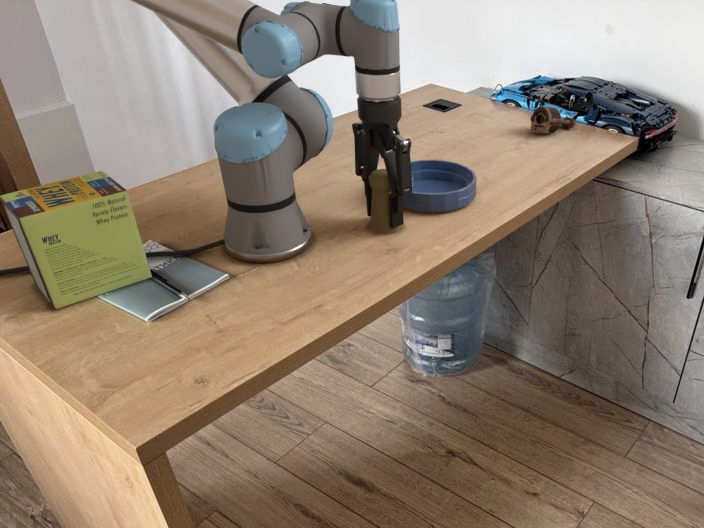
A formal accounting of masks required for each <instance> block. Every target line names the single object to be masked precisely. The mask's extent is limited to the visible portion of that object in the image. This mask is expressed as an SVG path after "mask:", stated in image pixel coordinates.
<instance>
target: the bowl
mask: <svg viewBox="0 0 704 528" xmlns="http://www.w3.org/2000/svg"><path fill="white" fill-rule="evenodd" d="M411 174H412V189H413V191H412V192H411V193H408V194H406V195H404V207H405V208H404V209H408V210H410V211H413V212H420V213H431V214H432V213H433V214H434V213H435V214H437V213H445V212H451V211H455V210H459V209H460V208H463V207H465V206H468V205H469V204H470V203H472V202H473V201H474V200H475V198H476V194H477V180H478V178H477V175H476V172H475V171H474V170H473V169H472V168H470V167H468V166H466V165H464V164H461V163H459V162H455V161H450V160H446V159H445V160H444V159H418V160H411ZM397 188H398V187H397Z"/></svg>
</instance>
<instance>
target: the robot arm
mask: <svg viewBox="0 0 704 528" xmlns="http://www.w3.org/2000/svg"><path fill="white" fill-rule="evenodd" d="M129 1H130V2H131V3H132V2H133V3H134V4H137V5H138V6H141V7H143V8H145V9H147V10H149V11H151V12H152V13H153V14H154V15H155V16H156V18H158V19H159V20H160V21H161V22H162V23H163V25H164V26H165V27H166V28H167V29H168V31H170V32H171V33H172V34H173V36H175V37H176V38H177V40H179V41H180V43H181V44H182V45H183V46H184V47H185V48H186V49H187V50H188V51H189V53H190V54H191V55H193V57H194V58H195V59H196V60H197V61H198V62H199V64H200V65H202V67H204V69H205V70H206V71H207V72H208V73H209V74H210V75H211V76H212V78H213V79H215V81H216V82H217V83H218V84H219V85H220V86H221V88H223V89H224V90H225V91H226V92H227V94H229V96H230V97H231V98H232V99H233V100H234V101H235V102H236V103H237V105H235V106H233V107H230V108H227V109H225V110H224V111H222V112H221V113H220V114H219V115H218V116H217V117H216V119H215V121H214V123H213V129H212V130H213V137H214V140H213V141H214V149H215V152H216V154H217V158H218V159H217V160H218V164H219V168H220V173H221V179H222V184H223V189H224V193H225V194H224V195H225V198H226V203H227V213H226V219H225V225H224V233H223V239H220V240H217V241H216V240H215V241H213V242H210V243H207V244H204V245H201V246H199V247H195V248H194V247H193V248H189V249H188V248H187V249H182V250H161V251H147V252H146V251H145V254H146V257H147V259H148V258H159V257H160V258H163V257H165V258H166V257H181V256H189V255H195V254H199V253H202V252H205V251H208V250H211V249H214V248H217V247H221V246H224V249H225V250H226V253H227V254H228V255H229V256H231V257H233V258H234V259H236V260H239V261H242V262H248V263H255V264H256V263H257V264H265V263H276V262H281V261H282V262H283V261H285V260H289V259H291V258H294V257H296V256H299V255H301V254H302V253H304V252H305V251H306V250H307V249H308V248H309V247H311V244H312V239H313V237H312V229H311V228H310V225H309V223H308V221H307V219H306V216H305V214H304V212H303V210H302V208H301V207H300V204H299V203H298V200H297V196H296V195H297V194H296V188H295V187H296V186H295V180H294V173H295V172H296V171H298V169H300V168H301V167H303V166H304V165H305V164H306V163H308V162H309V161H310V160H312V159H313V158H314V159H315V158H316V157H318V156H319V155H320V154H321V153H322V152H323V151H324V149H325V148H326V147H327V146H328V145H329V143H330V142H331V140H332V138H333V134H334V118H333V113H332V111H331V108H330V106H329V104H328V103H327V101H326V99H324V97H323V96H322V95H321V94H319V93H318V92H317V91H315V90H314V89H311V88H305V87H302V86H301V87H299V86H298V85H297V83H296V82H294V81H293V79H292V78H291V77H290V76H289V75H290V74H293V73H294V72H296V71H297V70H298V69H300V68H302V67H304V66H306V65H307V64H309V63H311V62H314V61H316V60H317V59H319V58H321V57H323V56H328V55H329V56H339V57H352V58H353V61H354V77H355V93H356V95H357V98H356V104H357V105H356V106H357V117H358V119H359V120H360V121H358V122H354V123H352V124H351V129H352V133H353V138H354V139H353V140H354V171H355V175H356V176H357V177H361V181H362V182H363V187H364V189H363V190H364V196H365V200H366V201H365V202H366V215H367V216H368V217H369V218H370V217H371V203H372V190H373V189H372V188H371V186H370V183H369V176H370V174H371V172H373V171H375V170H377V169H378V165H379V160H380V158H381V159H382V160H383V163H384V166H385V169H386V171H387V175H388V179H389V184H390V188H391V192H392V193H391V194H389V214H390V227H391V228H395V227H398V226H400V225H401V226H402V225H404V224H405V222H404V221H405V220H404V211H405V209H406V208H405V207H404V195H406V194H408V193H411V192H412V191H413V189H412V174H411V161H412V160H411V148H412V139H410V138H409V137H408V138H404V137H403V136H402V135H401V133H400V129H399V122H400V120H401V119H402V114H403V113H402V110H403V109H402V97H400V94H401V93H402V91H401V89H402V88H401V62H400V61H401V60H400V57H401V56H400V55H401V54H400V30H401V28H400V27H401V25H400V21H399V8H398V1H397V0H349V5H337V4H329V3H328V4H327V3H319V2H311V1H306V0H304V1H290V2H288V3H286V4H284V6H283V9H282V10H281V11H280V14H277V13H275V12H274V11H271V10H269V9H267V8H265V7H263V6H260V5H259V4H257V3H256V2H255V3H254V2H253V1H251V0H129ZM397 187H398V188H397ZM27 272H30V270H29V268H28V265H25V266H17V267H11V268H4V269H0V277H1V276H7V275H13V274H20V273H27Z"/></svg>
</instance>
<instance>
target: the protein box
mask: <svg viewBox="0 0 704 528" xmlns="http://www.w3.org/2000/svg"><path fill="white" fill-rule="evenodd" d="M0 203H1V205H2V208H3V210H4V213H5V215H6V217H7V219H8V222H9V225H10V227H11V229H12V232H13V234H14V236H15V239H16V241H17V244H18V247H19V248H20V251H21V253H22V256H23V258H24V260H25V263H26V266H28V268H29V270H30V271H29V274H30V275H31V278H32V280H33V282H34V285H35V286H36V288H38V289H39V291H40V292H41V294H42V295H43V296H44V297H45V298H46V300H47V301H48V302H49V304H50V305H51V306H52V307H53V309H54V310H59V309H61V308H64V307H67V306H70V305H73V304H76V303H79V302H82V301H85V300H88V299H92V298H94V297H97V296H100V295H103V294H106V293H109V292H112V291H114V290H119V289H121V288H124V287H127V286H130V285H133V284H136V283H139V282H142V281H145V280H148V279H151V278H152V277H153V274H152V271H151V268H150V265H149V261H148V258H147V257H146V254H145V253H146V251H145V247H144V243H143V241H142V238H141V235H140V231H139V227H138V224H137V220H136V217H135V214H134V210H133V206H132V203H131V199H130V196H129V193H128V190H127V189H126V188H125V187H123V186H122V185H121V184H120V183H118V182H117V181H116V180H114V179H113V178H112V177H111V176H110V175H108V174H107V173H106V172H105V171H103V170H99V171H93V172H90V173H87V174H83V175H79V176H75V177H71V178H65V179H61V180H57V181H54V182H48V183H44V184H41V185H38V186H34V187H29V188H25V189H20V190H17V191H13V192H9V193H5V194H1V195H0Z"/></svg>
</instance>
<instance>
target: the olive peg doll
mask: <svg viewBox="0 0 704 528" xmlns="http://www.w3.org/2000/svg"><path fill="white" fill-rule="evenodd" d="M369 183H370V186H371V188H372V189H373V190H372V203H371V216H370V217H369V229H370V230H371V231H372V232H375V233H377V234H392V233H396V232H398V231H399V230H401V229H402V225H400V226H398V227H395V228H391V227H390V214H389V194H391V193H392V192H391V188H390V184H389V179H388V175H387V171H386V168H377V170H375V171H373V172H371V174H370V176H369Z"/></svg>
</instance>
